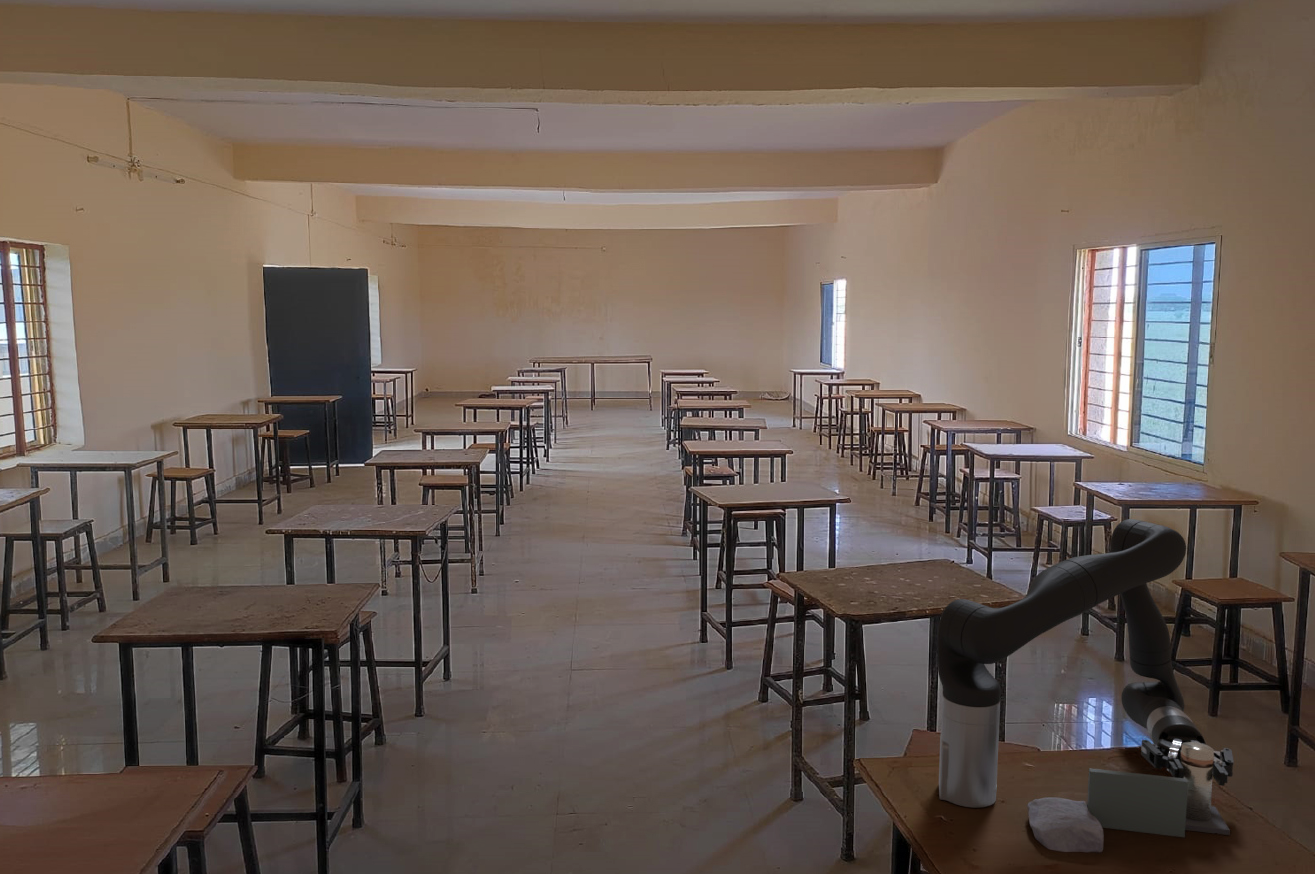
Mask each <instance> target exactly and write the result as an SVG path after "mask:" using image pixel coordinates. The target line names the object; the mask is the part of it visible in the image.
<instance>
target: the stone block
mask: <svg viewBox="0 0 1315 874" xmlns="http://www.w3.org/2000/svg"><path fill="white" fill-rule="evenodd" d="M1026 807H1027V808H1026V809H1027V811H1028V822H1029V825H1030V828H1031V829H1032V833H1033V835H1034V838H1035V840H1037V842H1039V843H1040V844H1041V846H1043V847H1045V848H1046V849H1047V850H1050V851H1057V852H1063V853H1070V852H1072V853H1075V852H1076V853H1078V852H1083V853H1102V852H1103V850H1104V843H1105V840H1104V836H1105V835H1104V828H1103V827H1101V824H1100V822H1099V821H1098V820H1097V818H1096V817H1095V816H1092V815H1091V814H1090V811H1089V810H1088V807H1087V801H1085V800H1079V801H1078V800H1073V799H1069V798H1064V797H1063V798H1062V797H1048V796H1046V797H1042V798H1041V797H1040V798H1035V799H1033V800H1031V801H1029V802H1028V803H1027V806H1026Z"/></svg>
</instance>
